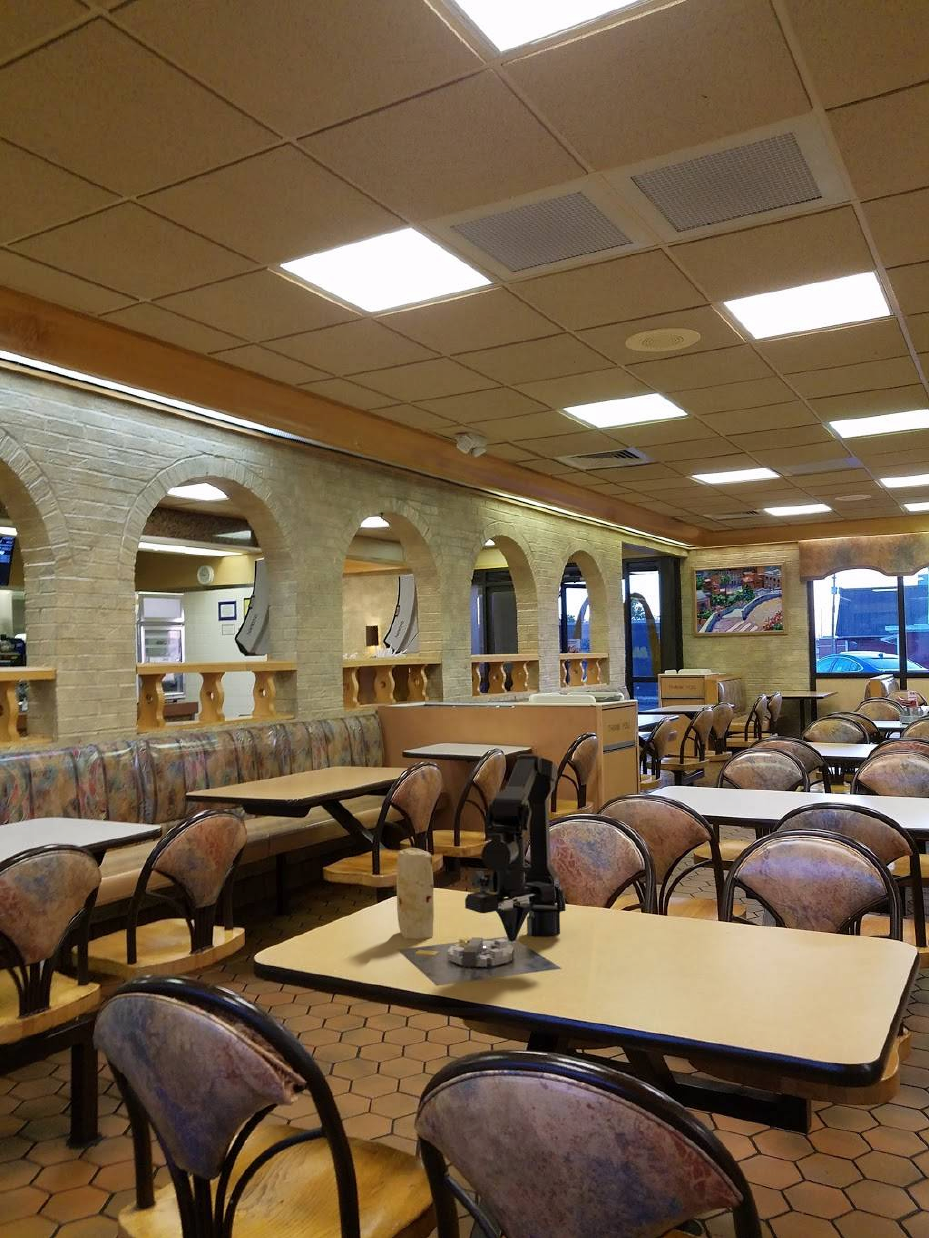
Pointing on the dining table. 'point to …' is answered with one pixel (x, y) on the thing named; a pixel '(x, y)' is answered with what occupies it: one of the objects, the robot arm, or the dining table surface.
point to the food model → (415, 893)
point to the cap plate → (449, 972)
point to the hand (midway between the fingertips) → (511, 940)
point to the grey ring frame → (472, 949)
